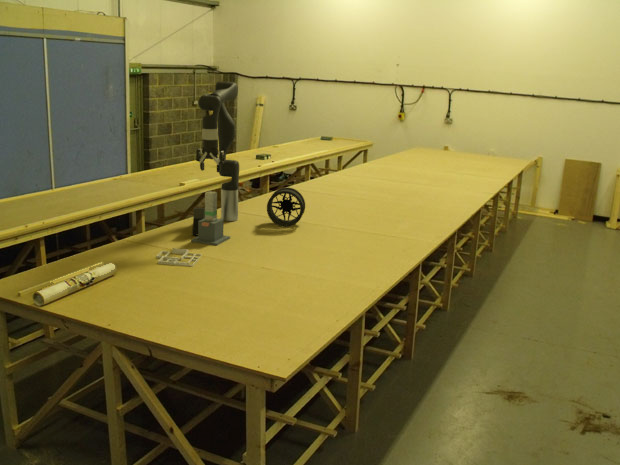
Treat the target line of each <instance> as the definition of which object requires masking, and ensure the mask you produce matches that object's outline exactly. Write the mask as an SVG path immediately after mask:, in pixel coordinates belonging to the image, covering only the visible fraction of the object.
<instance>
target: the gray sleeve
mask: <svg viewBox="0 0 620 465" xmlns="http://www.w3.org/2000/svg"><path fill="white" fill-rule="evenodd" d="M230 239H231V236H230V235H224V220H223V219H221V218H217V221H214V222H208V221H205V218H204V219H202V220H200V221H198V235H197V236H195V237H194V238H192V239H190V241H191V242H192V243H197V244H204V245H212V246H219V245H220V244H221V245H222V244H223V243H224V242H226V241H228V240H230ZM191 242H190V243H191Z"/></svg>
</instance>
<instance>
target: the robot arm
mask: <svg viewBox="0 0 620 465" xmlns="http://www.w3.org/2000/svg"><path fill="white" fill-rule="evenodd" d="M238 91H239V89H238V84H237V83H236V82H234V81H222V80H221V81H219V80H218V81H217V82H216V83H215V89H214V91H212V92H210V93H205V94H202V95H201V96H200V97H199V98H198V102H197V104H198V107H199V109H201V110H202V111H206V112H207V111H209V112H210V111H212V113H211V114H209V115H204V116H203V117H202V132H201V134H202V135H201V137H202V138H201V140H202V148H197V149H196V156H195V161H196V162H199V169H200V171H202V172H203V171H205V161H206V160H213V161H214V162H215V163H216V173H219V175H220V177H226V178H231V179H230V180H229V181H225V182H223V183H221V192H220V193H221V194H220V195H221V196H220V197H221V198H220V199H221V201H220V202H221V204H220V210H221V211H220V212H221V213H220V214H221V215H220V219H223V222H225V221H226V222H235V221H237V220H238V219H239V183H240V182H239V178H240V163H239V161H238V160H234V159H227V154H228V150H229V148H230V147H231V145H232V144H233V142H234V140H235V138H236V123H235V121H234V119H233V118H232V116H231V114H229V112H228V110H227V108H226V104H225V103H226V102H229V101H233V100H236V99H237V97H238V94H239V92H238Z"/></svg>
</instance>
